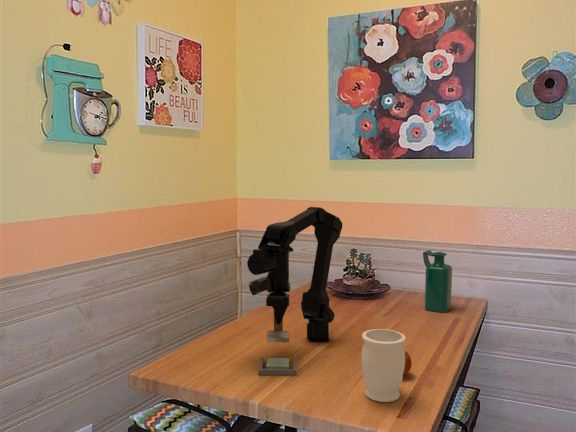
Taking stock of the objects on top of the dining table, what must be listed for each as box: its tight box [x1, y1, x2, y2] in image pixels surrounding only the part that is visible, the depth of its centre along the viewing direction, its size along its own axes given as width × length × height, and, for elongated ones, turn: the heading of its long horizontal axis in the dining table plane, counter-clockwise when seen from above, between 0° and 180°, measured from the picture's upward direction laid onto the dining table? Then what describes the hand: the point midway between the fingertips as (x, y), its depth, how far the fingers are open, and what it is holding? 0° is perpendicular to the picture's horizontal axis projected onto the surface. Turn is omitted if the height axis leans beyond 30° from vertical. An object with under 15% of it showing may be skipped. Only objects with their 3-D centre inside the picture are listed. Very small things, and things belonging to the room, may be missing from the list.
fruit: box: [403, 350, 413, 376], centre depth 141 cm, size 7×7×8 cm
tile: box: [265, 357, 290, 369], centre depth 146 cm, size 6×6×2 cm
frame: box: [258, 356, 297, 377], centre depth 146 cm, size 10×9×2 cm
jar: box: [361, 328, 406, 403], centre depth 129 cm, size 11×10×15 cm
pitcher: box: [422, 249, 453, 314], centre depth 201 cm, size 10×8×22 cm
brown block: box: [266, 313, 290, 343], centre depth 152 cm, size 6×4×9 cm, turn 89°
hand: (278, 322), depth 153 cm, fingers closed on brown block, 2 cm apart
